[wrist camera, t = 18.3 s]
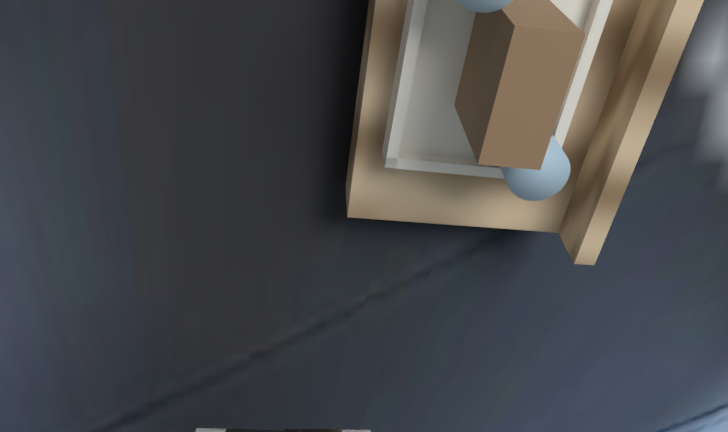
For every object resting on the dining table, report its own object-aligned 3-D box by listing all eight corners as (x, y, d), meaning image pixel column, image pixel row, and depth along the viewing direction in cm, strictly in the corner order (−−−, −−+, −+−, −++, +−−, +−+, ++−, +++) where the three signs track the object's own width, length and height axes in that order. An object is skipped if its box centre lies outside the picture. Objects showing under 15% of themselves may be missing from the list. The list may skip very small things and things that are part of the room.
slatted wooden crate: (559, 202, 41) (594, 265, 36) (345, 185, 40) (348, 248, 34) (699, -198, 29) (783, -194, 24) (399, -245, 28) (417, -251, 22)
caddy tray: (540, 166, 36) (581, 240, 30) (382, 150, 35) (393, 224, 29) (623, -85, 28) (699, -52, 23) (427, -114, 27) (455, -87, 22)
